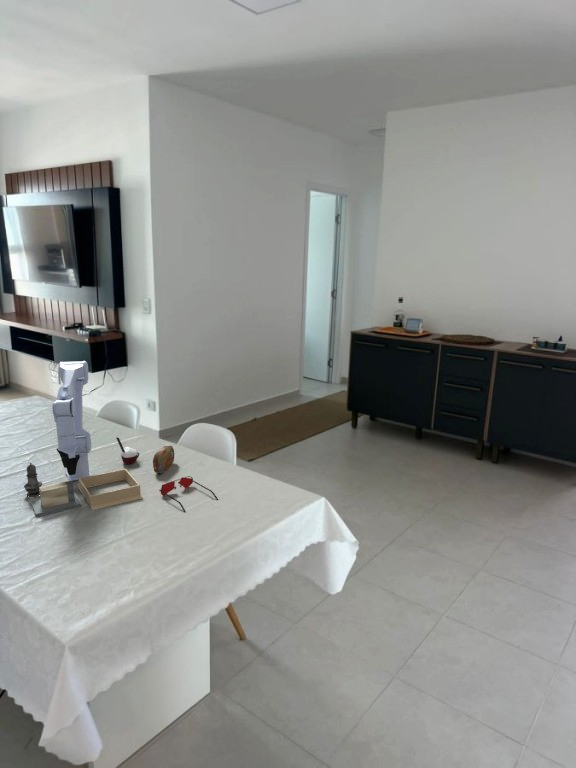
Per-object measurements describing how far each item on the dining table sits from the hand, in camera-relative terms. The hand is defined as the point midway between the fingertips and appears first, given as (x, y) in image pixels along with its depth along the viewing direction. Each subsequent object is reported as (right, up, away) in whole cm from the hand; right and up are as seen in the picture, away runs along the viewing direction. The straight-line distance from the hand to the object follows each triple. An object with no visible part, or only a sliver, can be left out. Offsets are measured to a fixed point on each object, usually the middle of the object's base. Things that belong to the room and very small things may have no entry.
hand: (69, 470), depth 184 cm
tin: (+27, -4, +27) cm, 38 cm away
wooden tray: (+12, -9, +6) cm, 16 cm away
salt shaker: (-14, -9, +3) cm, 17 cm away
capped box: (-2, -10, -5) cm, 11 cm away
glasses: (+41, -10, +2) cm, 42 cm away
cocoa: (+11, -2, +32) cm, 34 cm away
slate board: (-2, -11, -5) cm, 12 cm away
